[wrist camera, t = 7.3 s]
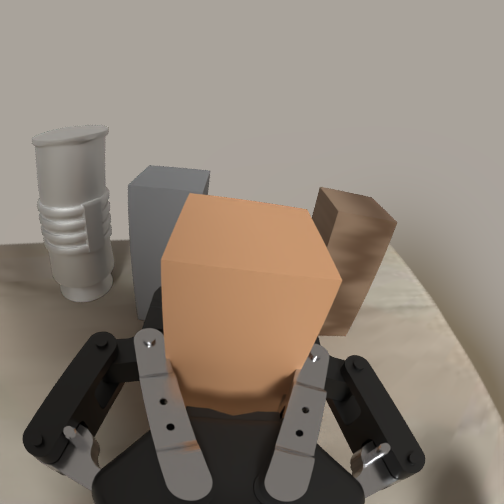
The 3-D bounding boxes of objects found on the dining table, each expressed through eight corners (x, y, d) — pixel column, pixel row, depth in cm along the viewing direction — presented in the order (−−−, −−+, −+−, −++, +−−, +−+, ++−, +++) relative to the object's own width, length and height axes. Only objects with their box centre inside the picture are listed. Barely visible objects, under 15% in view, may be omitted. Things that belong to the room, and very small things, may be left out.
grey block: (138, 319, 23) (127, 185, 17) (150, 284, 27) (149, 165, 21) (193, 326, 24) (202, 192, 18) (199, 290, 28) (210, 170, 22)
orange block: (175, 433, 13) (161, 259, 7) (183, 367, 18) (189, 193, 11) (261, 439, 14) (342, 280, 8) (257, 374, 18) (307, 209, 12)
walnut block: (295, 334, 25) (338, 211, 19) (288, 298, 29) (319, 186, 23) (345, 336, 25) (397, 222, 19) (332, 301, 30) (371, 197, 23)
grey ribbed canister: (79, 316, 22) (50, 144, 14) (45, 283, 24) (21, 138, 16) (131, 281, 27) (126, 128, 19) (92, 256, 29) (84, 123, 22)
